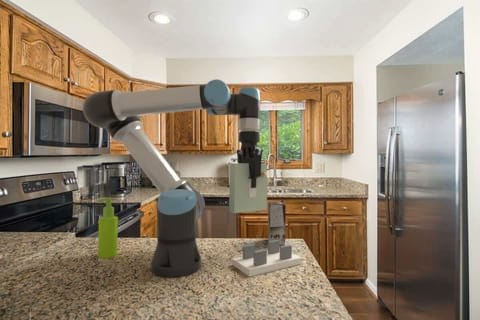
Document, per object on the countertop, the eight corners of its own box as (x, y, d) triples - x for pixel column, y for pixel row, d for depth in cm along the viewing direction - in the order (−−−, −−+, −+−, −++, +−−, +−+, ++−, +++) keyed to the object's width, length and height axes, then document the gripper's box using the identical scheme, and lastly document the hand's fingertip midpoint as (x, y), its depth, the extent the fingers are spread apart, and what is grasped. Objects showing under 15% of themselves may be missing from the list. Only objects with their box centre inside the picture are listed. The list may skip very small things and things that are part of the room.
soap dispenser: (91, 258, 89) (92, 198, 89) (108, 251, 96) (109, 196, 96) (104, 260, 87) (105, 199, 87) (120, 254, 93) (121, 197, 94)
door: (236, 214, 89) (237, 163, 89) (229, 211, 93) (229, 163, 93) (269, 210, 96) (269, 163, 97) (260, 208, 101) (261, 163, 101)
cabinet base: (249, 276, 76) (249, 255, 76) (232, 265, 84) (232, 246, 85) (301, 263, 86) (301, 245, 86) (281, 254, 95) (281, 237, 95)
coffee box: (285, 245, 105) (286, 204, 105) (269, 245, 105) (269, 204, 106) (282, 238, 114) (282, 201, 115) (267, 238, 115) (267, 201, 115)
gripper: (272, 130, 91) (271, 198, 90) (245, 134, 105) (244, 193, 104) (254, 128, 87) (253, 200, 86) (228, 132, 101) (227, 194, 100)
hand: (248, 196), depth 95 cm, fingers closed on door, 3 cm apart
